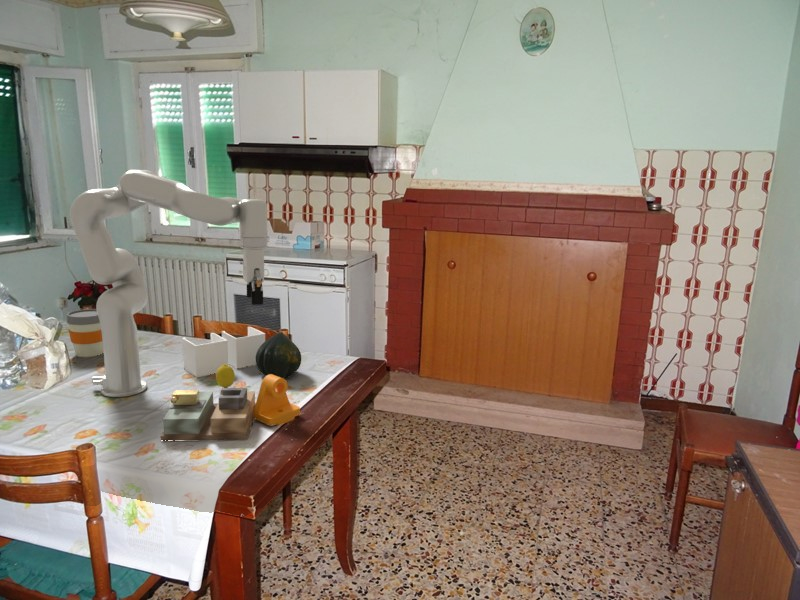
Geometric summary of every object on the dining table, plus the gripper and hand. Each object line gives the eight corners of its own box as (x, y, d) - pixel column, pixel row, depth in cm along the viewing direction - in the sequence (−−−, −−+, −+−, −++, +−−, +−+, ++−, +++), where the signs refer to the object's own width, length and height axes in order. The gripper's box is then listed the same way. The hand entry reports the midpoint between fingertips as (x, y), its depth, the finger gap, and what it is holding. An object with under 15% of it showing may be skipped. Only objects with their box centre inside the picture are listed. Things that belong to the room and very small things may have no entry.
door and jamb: (160, 441, 140) (158, 409, 138) (181, 408, 159) (180, 379, 157) (247, 439, 142) (246, 407, 140) (257, 407, 162) (256, 379, 160)
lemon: (229, 393, 172) (228, 368, 170) (213, 391, 173) (212, 366, 171) (238, 386, 177) (237, 362, 175) (222, 384, 178) (221, 360, 176)
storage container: (196, 378, 184) (195, 345, 181) (183, 368, 191) (182, 337, 189) (265, 363, 200) (265, 333, 198) (251, 355, 208) (250, 326, 205)
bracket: (270, 429, 149) (270, 386, 146) (253, 421, 153) (252, 379, 151) (301, 416, 157) (301, 376, 155) (284, 409, 162) (284, 369, 159)
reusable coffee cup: (98, 359, 197) (94, 318, 194) (62, 358, 197) (58, 316, 194) (116, 348, 209) (113, 309, 206) (82, 347, 209) (79, 308, 206)
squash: (262, 371, 175) (289, 331, 180) (240, 360, 186) (266, 323, 191) (292, 392, 184) (317, 354, 188) (270, 381, 195) (294, 345, 199)
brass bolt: (171, 408, 145) (170, 397, 144) (176, 400, 150) (175, 390, 149) (195, 407, 146) (194, 396, 145) (199, 400, 150) (198, 389, 150)
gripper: (236, 239, 168) (237, 295, 172) (244, 246, 153) (245, 308, 156) (262, 239, 171) (262, 294, 175) (272, 246, 155) (272, 306, 159)
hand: (254, 300), depth 165 cm, fingers open, 9 cm apart
